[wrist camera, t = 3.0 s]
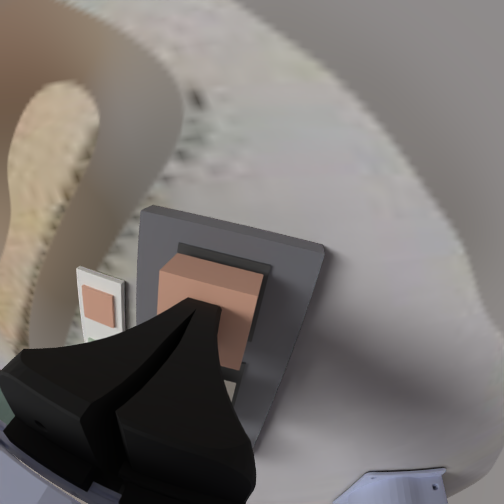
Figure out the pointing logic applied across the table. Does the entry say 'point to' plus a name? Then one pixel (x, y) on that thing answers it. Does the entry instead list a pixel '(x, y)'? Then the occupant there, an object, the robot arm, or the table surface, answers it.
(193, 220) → the dark grey base plate
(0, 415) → the coffee cup
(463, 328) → the table surface
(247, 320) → the key terracotta
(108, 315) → the card
